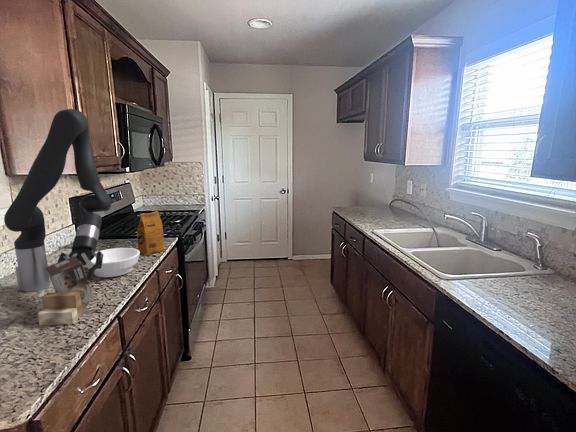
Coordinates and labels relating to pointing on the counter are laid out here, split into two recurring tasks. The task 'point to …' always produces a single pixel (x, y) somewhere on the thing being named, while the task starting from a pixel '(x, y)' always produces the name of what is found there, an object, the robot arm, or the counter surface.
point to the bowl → (116, 261)
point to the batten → (57, 316)
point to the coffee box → (70, 278)
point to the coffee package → (150, 233)
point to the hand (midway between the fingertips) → (75, 280)
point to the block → (64, 301)
